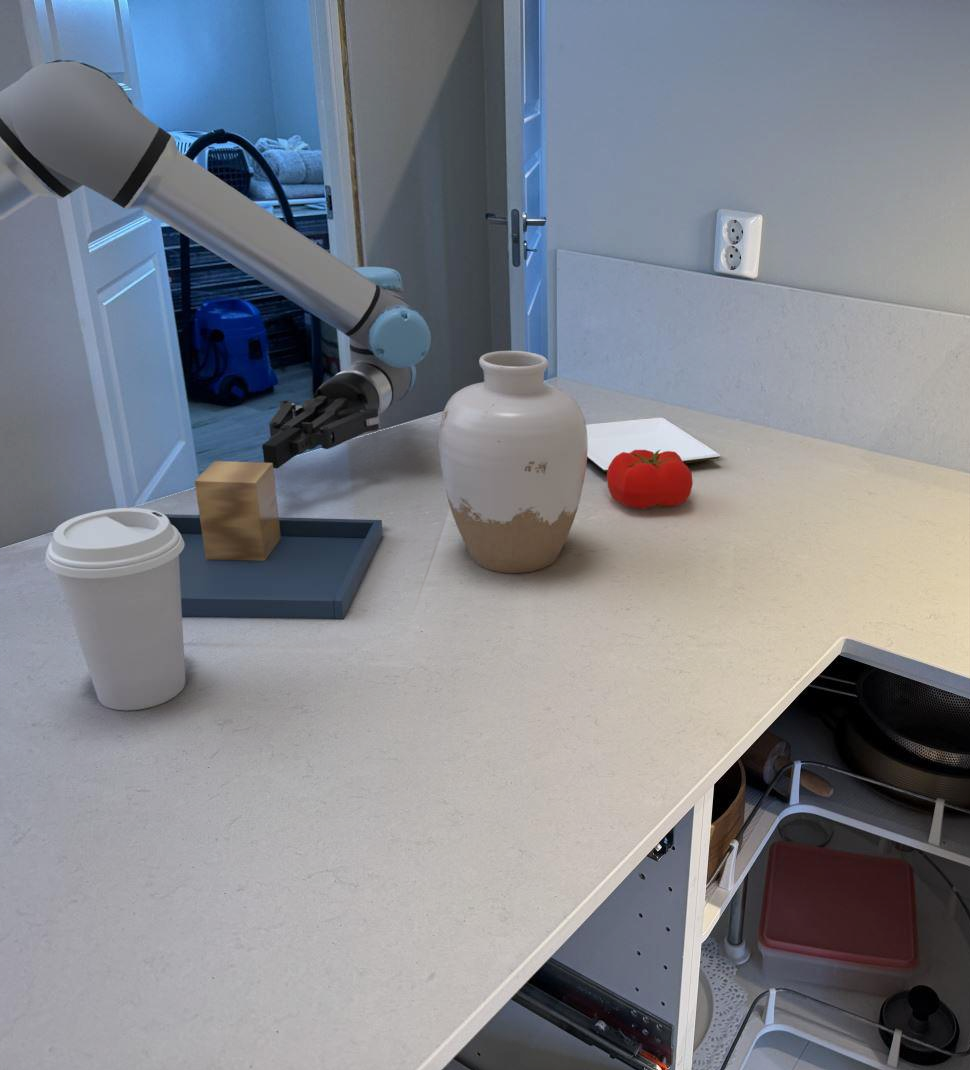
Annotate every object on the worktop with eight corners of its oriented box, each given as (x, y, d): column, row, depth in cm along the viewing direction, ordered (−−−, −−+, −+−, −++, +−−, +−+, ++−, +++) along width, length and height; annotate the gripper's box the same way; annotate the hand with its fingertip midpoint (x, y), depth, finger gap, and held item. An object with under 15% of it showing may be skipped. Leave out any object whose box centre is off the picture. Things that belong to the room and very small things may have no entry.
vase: (516, 516, 123) (515, 333, 114) (613, 554, 115) (620, 362, 106) (413, 555, 111) (402, 354, 102) (513, 601, 103) (511, 388, 94)
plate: (603, 482, 136) (604, 468, 135) (553, 440, 150) (553, 427, 149) (720, 467, 145) (722, 454, 144) (662, 429, 159) (663, 416, 158)
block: (205, 559, 105) (194, 480, 101) (224, 536, 110) (214, 460, 107) (265, 561, 106) (255, 482, 102) (281, 537, 111) (272, 462, 107)
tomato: (699, 514, 128) (703, 466, 125) (617, 519, 124) (619, 471, 122) (676, 486, 136) (679, 441, 134) (598, 491, 133) (600, 445, 130)
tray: (83, 619, 93) (78, 596, 92) (165, 534, 111) (162, 513, 110) (343, 623, 96) (341, 600, 95) (383, 539, 114) (381, 519, 113)
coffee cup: (215, 702, 83) (190, 539, 77) (81, 734, 78) (43, 562, 72) (195, 649, 90) (171, 496, 84) (71, 675, 85) (36, 515, 79)
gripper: (402, 429, 135) (329, 492, 113) (308, 421, 135) (217, 482, 113) (399, 376, 132) (323, 430, 110) (302, 367, 132) (208, 419, 110)
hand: (270, 456), depth 112 cm, fingers closed
